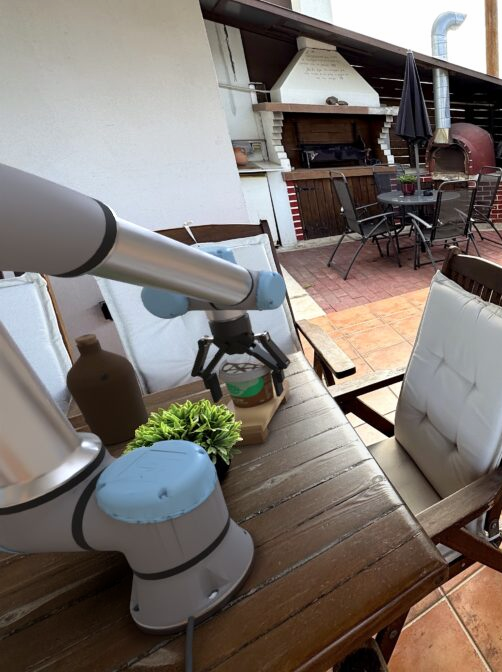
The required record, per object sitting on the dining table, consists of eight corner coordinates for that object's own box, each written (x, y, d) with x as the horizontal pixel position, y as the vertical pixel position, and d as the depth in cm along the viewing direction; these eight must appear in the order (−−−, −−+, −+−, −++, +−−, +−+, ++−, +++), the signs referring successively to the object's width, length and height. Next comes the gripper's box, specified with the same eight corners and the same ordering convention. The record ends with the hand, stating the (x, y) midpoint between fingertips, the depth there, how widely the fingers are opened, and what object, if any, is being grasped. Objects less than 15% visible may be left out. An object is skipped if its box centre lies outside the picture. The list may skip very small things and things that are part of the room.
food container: (214, 409, 94) (202, 372, 91) (234, 393, 100) (224, 358, 96) (262, 413, 93) (252, 376, 89) (279, 397, 98) (271, 362, 95)
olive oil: (165, 417, 99) (131, 327, 90) (122, 448, 89) (80, 350, 80) (126, 415, 100) (89, 325, 91) (79, 446, 90) (33, 348, 81)
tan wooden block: (266, 442, 91) (261, 424, 89) (212, 448, 89) (206, 430, 87) (292, 395, 107) (288, 380, 106) (247, 400, 106) (243, 384, 104)
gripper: (294, 305, 94) (309, 382, 101) (175, 313, 90) (200, 392, 97) (282, 318, 87) (300, 400, 94) (153, 327, 83) (182, 411, 90)
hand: (249, 396), depth 96 cm, fingers open, 13 cm apart
